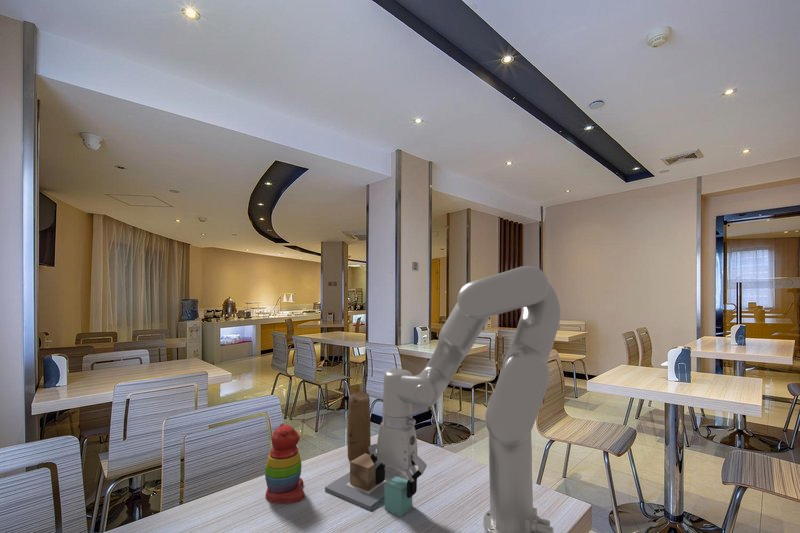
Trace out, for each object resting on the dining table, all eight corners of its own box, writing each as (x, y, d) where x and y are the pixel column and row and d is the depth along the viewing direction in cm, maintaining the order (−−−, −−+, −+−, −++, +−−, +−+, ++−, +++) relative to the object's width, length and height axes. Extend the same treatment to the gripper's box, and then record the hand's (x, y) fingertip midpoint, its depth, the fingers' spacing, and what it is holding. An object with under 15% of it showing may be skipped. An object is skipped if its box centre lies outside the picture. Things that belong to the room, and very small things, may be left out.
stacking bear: (305, 501, 96) (305, 430, 97) (263, 508, 93) (264, 435, 94) (302, 480, 107) (303, 417, 108) (265, 486, 104) (266, 421, 105)
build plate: (406, 482, 105) (406, 478, 105) (370, 510, 92) (370, 506, 92) (363, 467, 114) (363, 463, 114) (324, 490, 101) (324, 486, 101)
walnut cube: (383, 480, 104) (383, 458, 104) (368, 491, 99) (368, 468, 99) (365, 474, 108) (365, 453, 108) (350, 484, 102) (350, 461, 103)
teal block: (412, 506, 94) (412, 481, 94) (401, 516, 90) (401, 490, 90) (396, 500, 97) (396, 476, 97) (384, 509, 93) (384, 484, 93)
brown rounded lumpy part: (370, 463, 117) (370, 398, 118) (346, 464, 116) (346, 399, 117) (370, 448, 128) (370, 389, 129) (348, 449, 127) (348, 390, 128)
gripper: (434, 423, 93) (432, 494, 92) (379, 408, 103) (377, 472, 102) (418, 432, 87) (416, 508, 86) (361, 416, 97) (359, 483, 96)
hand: (395, 488), depth 94 cm, fingers open, 9 cm apart
